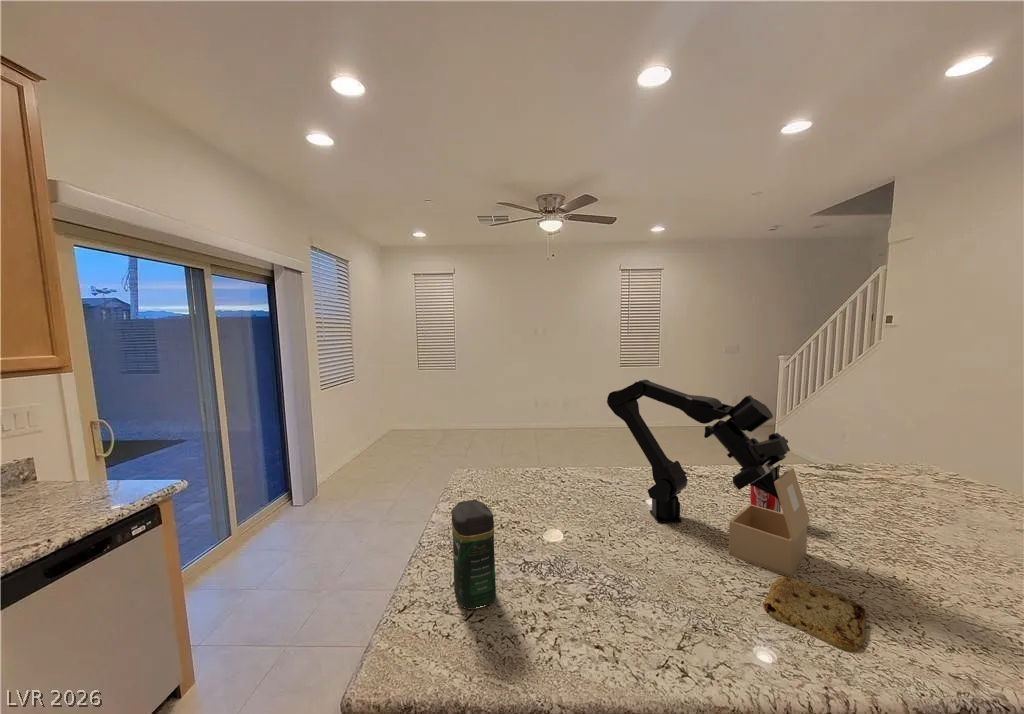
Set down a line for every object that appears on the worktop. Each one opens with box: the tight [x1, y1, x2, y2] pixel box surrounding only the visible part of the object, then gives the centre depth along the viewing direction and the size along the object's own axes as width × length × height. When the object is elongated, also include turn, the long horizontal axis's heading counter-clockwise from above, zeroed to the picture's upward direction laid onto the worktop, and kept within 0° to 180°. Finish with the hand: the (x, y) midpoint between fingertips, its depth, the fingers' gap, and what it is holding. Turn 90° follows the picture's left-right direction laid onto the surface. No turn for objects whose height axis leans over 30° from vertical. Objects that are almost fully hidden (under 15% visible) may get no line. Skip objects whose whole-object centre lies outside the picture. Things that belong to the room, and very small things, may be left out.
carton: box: [728, 503, 808, 578], centre depth 91 cm, size 12×13×8 cm
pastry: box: [763, 576, 868, 653], centre depth 72 cm, size 17×17×3 cm
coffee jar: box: [451, 499, 497, 609], centre depth 79 cm, size 10×8×19 cm
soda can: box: [749, 484, 782, 513], centre depth 108 cm, size 7×7×12 cm
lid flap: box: [774, 467, 811, 541], centre depth 87 cm, size 12×12×1 cm
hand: (789, 501), depth 87 cm, fingers closed, pressing on lid flap
